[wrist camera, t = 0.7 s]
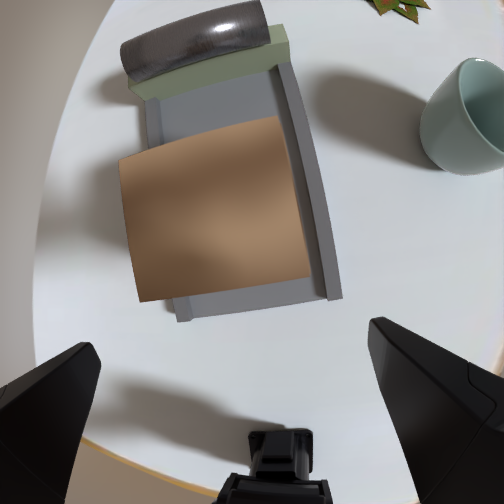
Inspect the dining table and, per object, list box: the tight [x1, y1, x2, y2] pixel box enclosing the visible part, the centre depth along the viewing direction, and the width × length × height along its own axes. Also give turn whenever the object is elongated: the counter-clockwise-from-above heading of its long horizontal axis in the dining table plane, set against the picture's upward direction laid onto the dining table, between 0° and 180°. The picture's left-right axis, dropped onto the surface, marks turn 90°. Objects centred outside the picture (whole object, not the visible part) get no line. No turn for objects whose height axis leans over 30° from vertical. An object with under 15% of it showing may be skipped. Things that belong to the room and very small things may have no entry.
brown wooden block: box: [118, 115, 311, 302], centre depth 19 cm, size 8×9×10 cm
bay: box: [120, 0, 343, 322], centre depth 21 cm, size 24×14×9 cm, turn 11°
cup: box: [419, 58, 504, 176], centre depth 17 cm, size 8×8×10 cm
